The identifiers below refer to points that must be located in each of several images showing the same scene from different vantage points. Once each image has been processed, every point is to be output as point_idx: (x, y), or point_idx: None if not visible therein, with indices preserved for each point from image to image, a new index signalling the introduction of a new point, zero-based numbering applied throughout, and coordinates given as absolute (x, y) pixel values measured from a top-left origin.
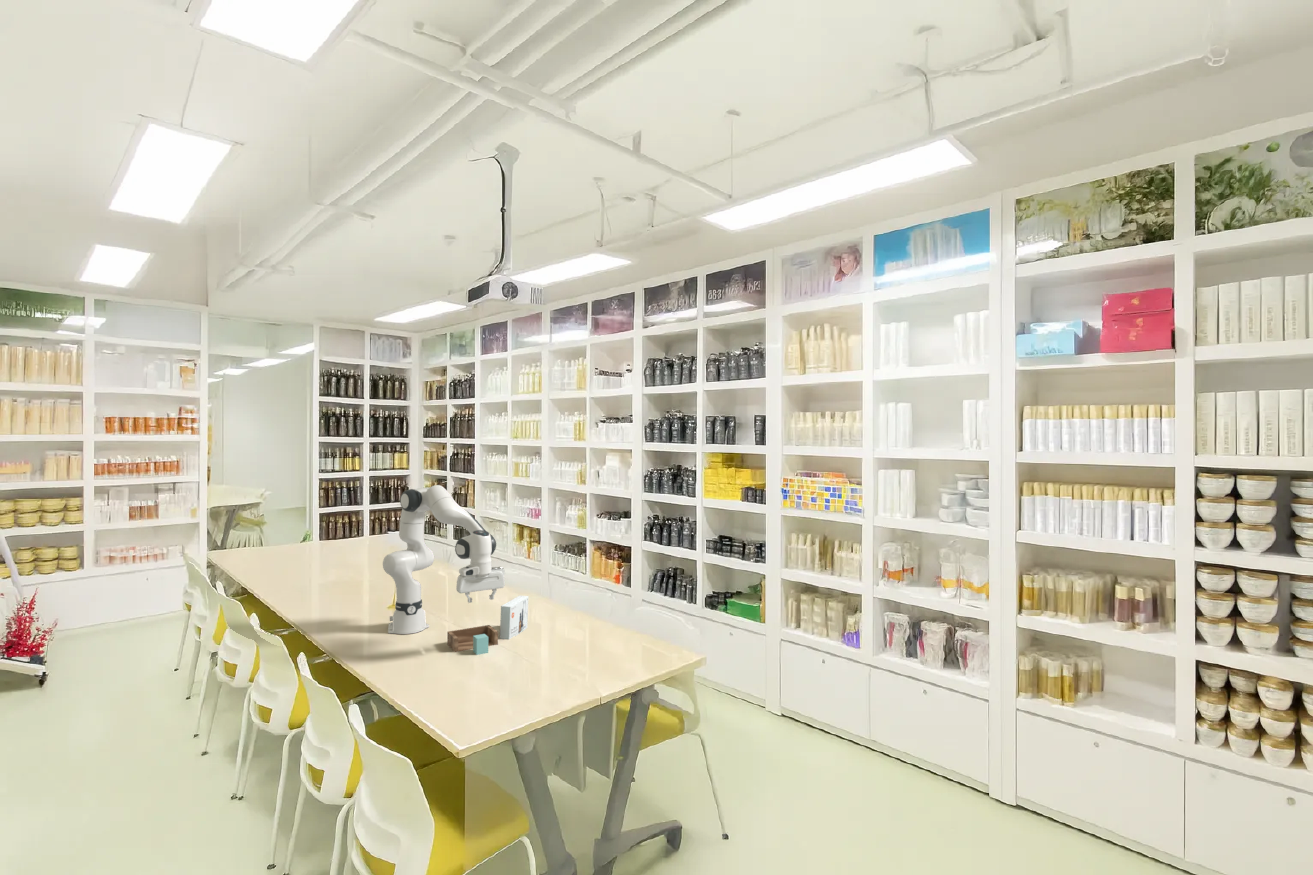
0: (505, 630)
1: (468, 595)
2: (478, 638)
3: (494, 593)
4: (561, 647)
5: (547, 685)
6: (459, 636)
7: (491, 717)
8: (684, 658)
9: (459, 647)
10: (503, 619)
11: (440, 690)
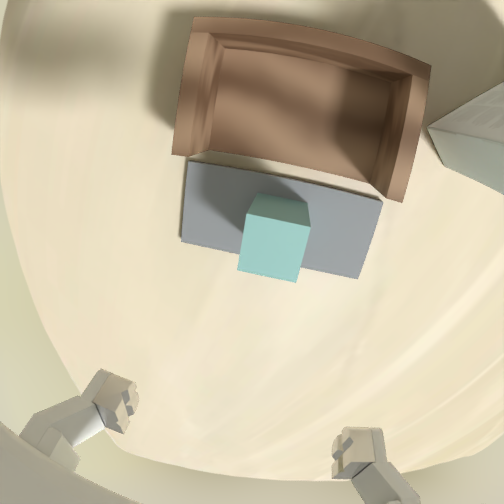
0: (458, 159)
1: (73, 445)
2: (246, 270)
3: (368, 496)
4: (471, 339)
5: (277, 450)
6: (256, 43)
7: (159, 447)
8: (473, 450)
9: (235, 103)
10: (484, 157)
11: (104, 358)
